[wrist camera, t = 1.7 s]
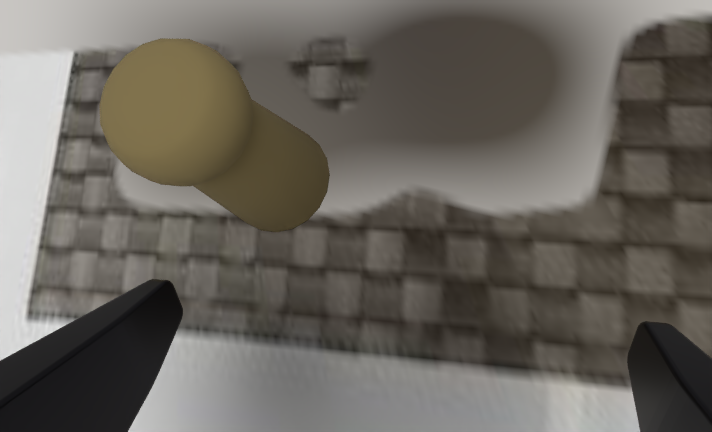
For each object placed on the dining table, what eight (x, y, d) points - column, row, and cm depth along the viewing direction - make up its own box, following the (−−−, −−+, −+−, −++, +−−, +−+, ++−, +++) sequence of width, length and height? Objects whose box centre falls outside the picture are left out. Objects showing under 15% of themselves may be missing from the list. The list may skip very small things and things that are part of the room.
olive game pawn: (247, 118, 26) (105, -5, 15) (343, 140, 24) (258, 21, 14) (214, 216, 25) (41, 159, 15) (310, 245, 24) (194, 205, 13)
